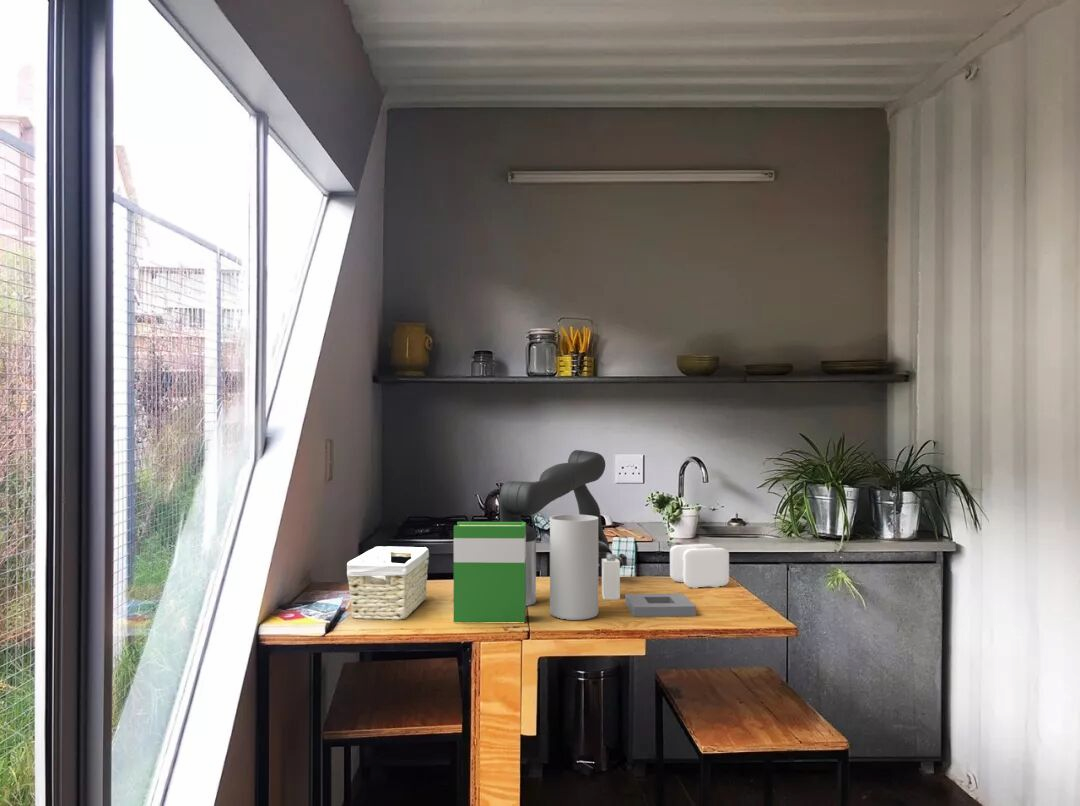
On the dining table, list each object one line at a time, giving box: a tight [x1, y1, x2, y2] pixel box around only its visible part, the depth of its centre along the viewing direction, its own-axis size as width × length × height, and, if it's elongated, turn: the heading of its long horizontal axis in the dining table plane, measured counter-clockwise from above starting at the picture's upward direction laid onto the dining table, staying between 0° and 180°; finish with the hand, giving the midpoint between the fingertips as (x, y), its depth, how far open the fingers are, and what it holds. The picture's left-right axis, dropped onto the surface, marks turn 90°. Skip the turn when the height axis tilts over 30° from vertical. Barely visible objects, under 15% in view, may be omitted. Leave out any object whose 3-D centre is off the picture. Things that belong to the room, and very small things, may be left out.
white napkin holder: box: [669, 543, 730, 589], centre depth 232 cm, size 15×11×12 cm
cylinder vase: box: [549, 514, 599, 621], centre depth 197 cm, size 12×12×25 cm
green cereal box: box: [453, 521, 527, 623], centre depth 193 cm, size 18×7×24 cm, turn 88°
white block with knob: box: [601, 553, 621, 600], centre depth 215 cm, size 4×4×12 cm
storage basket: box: [346, 546, 430, 621], centre depth 203 cm, size 24×16×15 cm
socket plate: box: [624, 593, 697, 618], centre depth 202 cm, size 16×14×2 cm
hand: (605, 564), depth 226 cm, fingers open, 8 cm apart
